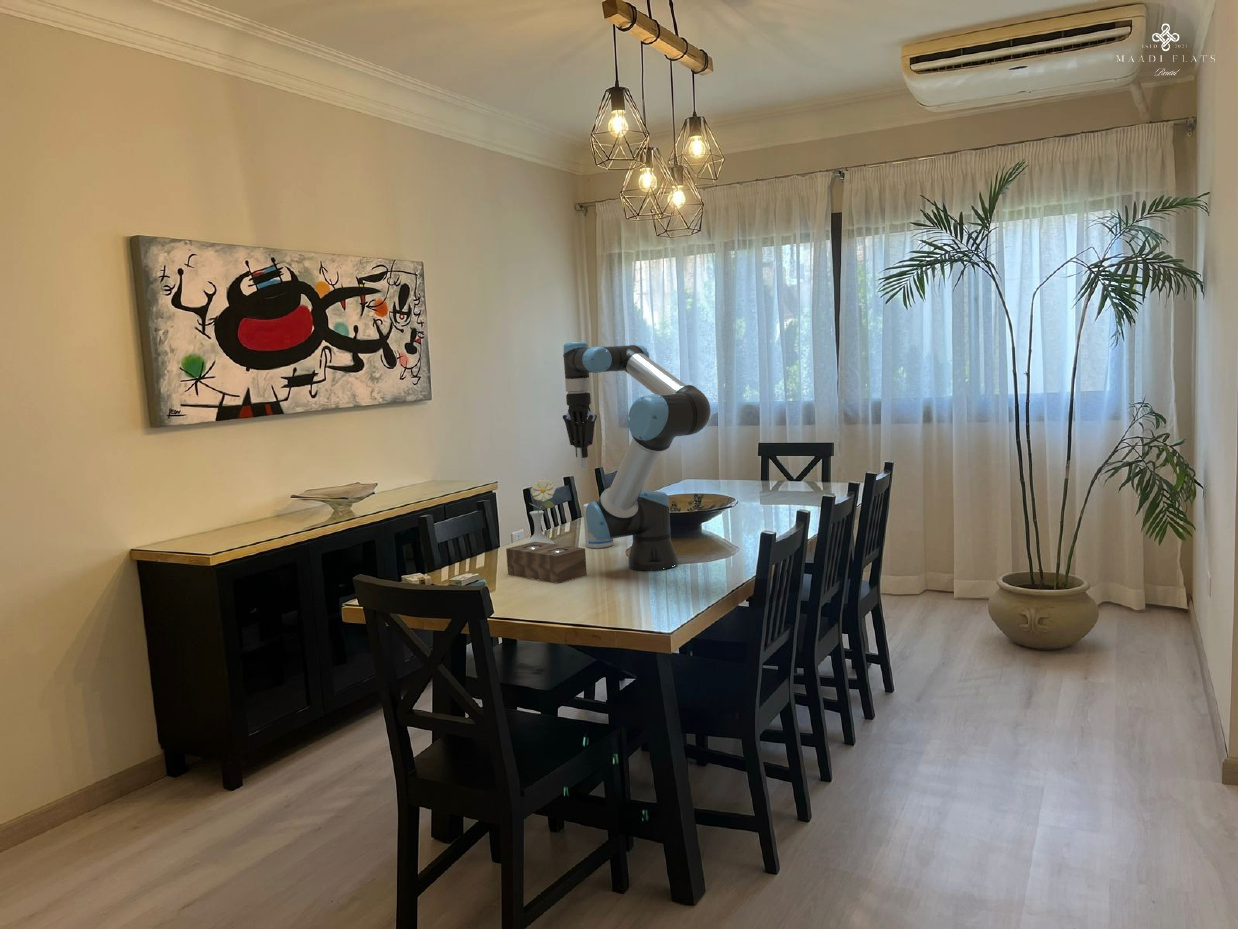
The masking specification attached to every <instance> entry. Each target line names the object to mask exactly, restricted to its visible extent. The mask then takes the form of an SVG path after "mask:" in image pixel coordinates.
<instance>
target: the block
mask: <svg viewBox="0 0 1238 929" xmlns="http://www.w3.org/2000/svg"><path fill="white" fill-rule="evenodd" d="M529 546H539V548H535V549H528V548H527V547H529ZM558 549H562V550H565V551H562V552H559V553H556V552H551V551H552V550H558ZM505 551H506V564H507V565H506V566H507V567H506V568H507V575H509V576H514V575H516V576H515V577H520V578H527V579H531V578H534V579H533V580H537V579H539V580H538V581H543V580H544V582H548V581H549V583H554V582H557V583H556V584H559V583H558V582H560V583H563V582H567V581H570V580H573V579H576V578H580V577H583V575H584V576H587V575H588V574H587V558H586V554H587V553H586V548H585V547H578V546H571V545H564V544H556V543H555V544H550V543H542V542H531V543H527V544H525V543H524V544H520V545H516V546H512V547H508V548H506V549H505ZM572 578H573V579H572ZM569 579H570V580H569ZM566 580H567V581H566Z"/></svg>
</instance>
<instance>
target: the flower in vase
mask: <svg viewBox="0 0 1238 929" xmlns="http://www.w3.org/2000/svg"><path fill="white" fill-rule="evenodd" d="M555 492H556V487H555V485H554V484H553V482H552V481H551V480H548V479H541V480H540V479H539V480H537V481H536V482H534V483H533V485H532V487H531V489H530V494H531V496H532V497H533V499H534V500H537V501H540V502H542V503H541V505H540V507H539V506H537V505H536V504H532V503H530V506H532V507H535V508H537V509H538V510H533V511H530V512H529V514H530V516H531V517H532V520H533V524H534V533H533V535H532V536H531V537H530V538H529V539H528V540H527V541H526V542H524V544H527V543H531V542H542V543H550V544H556V543H555V542H554V541H552V539H550V538H549V537H548V536H546V535H545V534H544V533H543V531H542V518H543V515H544V513H545V511H543V510H541V509H542V507H543V506H544V508H546V509H552V508H555V507H556V505H555V504H554V503H553V502H552V501H550V500H551V499H552V498H553V497H554V494H555Z"/></svg>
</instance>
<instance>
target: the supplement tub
mask: <svg viewBox="0 0 1238 929" xmlns="http://www.w3.org/2000/svg"><path fill="white" fill-rule="evenodd" d="M589 503H590V502H588V503H584V504H583V508H582V510H583V523H584V526H583V527H584V537H585V538H584V539H585V546H586V547H587V548H588V549H604V548H609V547H612V546H613V544H614V539H610V540H598V539H596V538H595V537H594V536H593V535H592V534H591V532H590V530H589V528H588V524H587V520H586V508H587V505H588V504H589Z"/></svg>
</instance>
